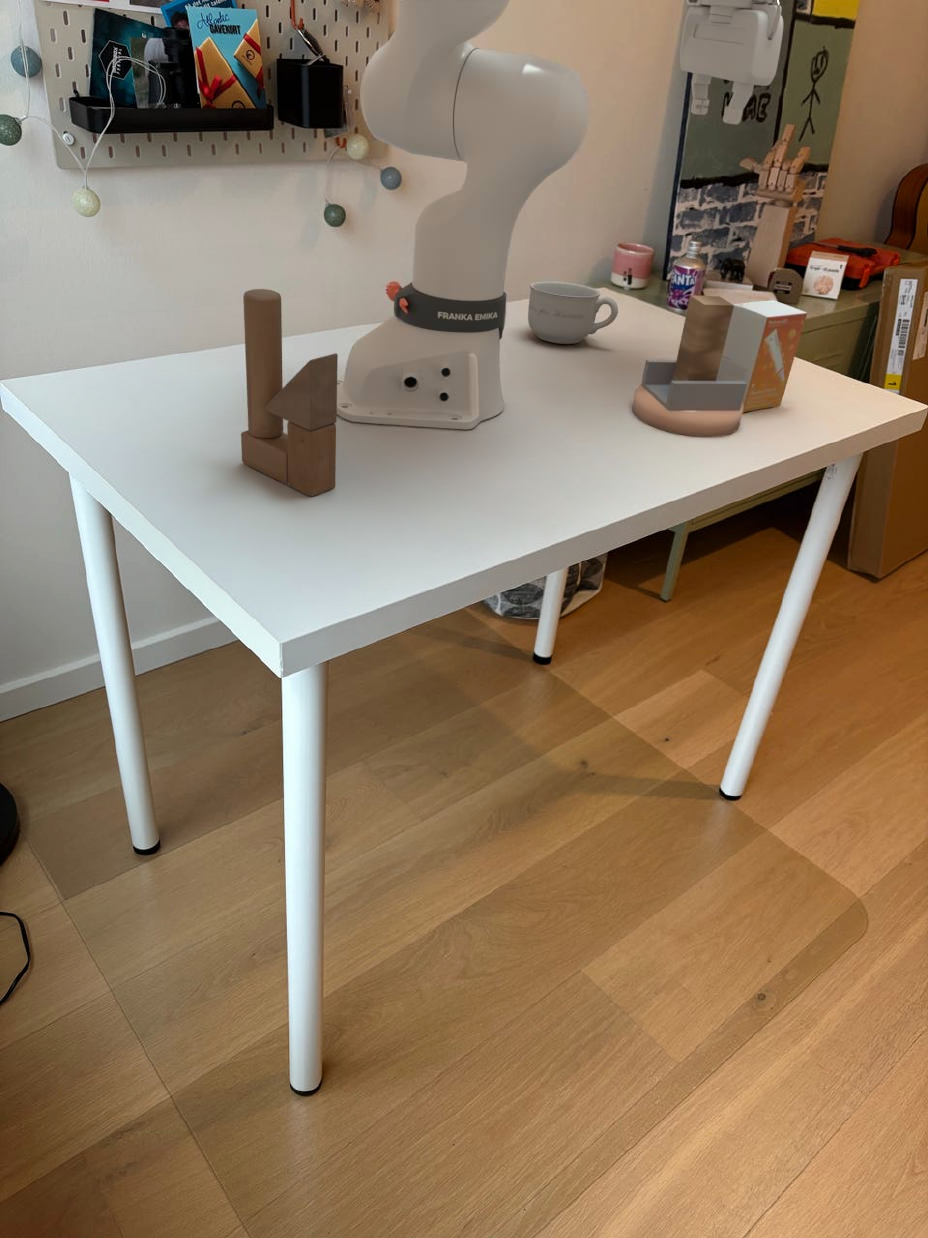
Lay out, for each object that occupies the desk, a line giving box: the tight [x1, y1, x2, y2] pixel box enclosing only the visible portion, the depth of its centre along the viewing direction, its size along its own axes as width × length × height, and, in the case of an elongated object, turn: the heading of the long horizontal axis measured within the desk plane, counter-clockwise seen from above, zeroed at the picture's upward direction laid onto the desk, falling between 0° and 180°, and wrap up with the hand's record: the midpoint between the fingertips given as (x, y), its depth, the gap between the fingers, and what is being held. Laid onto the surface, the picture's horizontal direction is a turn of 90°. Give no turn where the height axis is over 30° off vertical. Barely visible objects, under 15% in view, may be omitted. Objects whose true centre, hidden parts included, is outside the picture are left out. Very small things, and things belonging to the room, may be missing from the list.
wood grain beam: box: [672, 294, 734, 381], centre depth 120 cm, size 4×4×12 cm
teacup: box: [527, 280, 619, 345], centre depth 147 cm, size 14×11×8 cm
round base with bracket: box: [632, 358, 747, 438], centre depth 124 cm, size 14×14×6 cm
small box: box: [716, 299, 808, 413], centre depth 129 cm, size 8×6×13 cm
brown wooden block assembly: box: [240, 288, 339, 497], centre depth 95 cm, size 4×11×18 cm, turn 51°
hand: (714, 118), depth 124 cm, fingers open, 8 cm apart
